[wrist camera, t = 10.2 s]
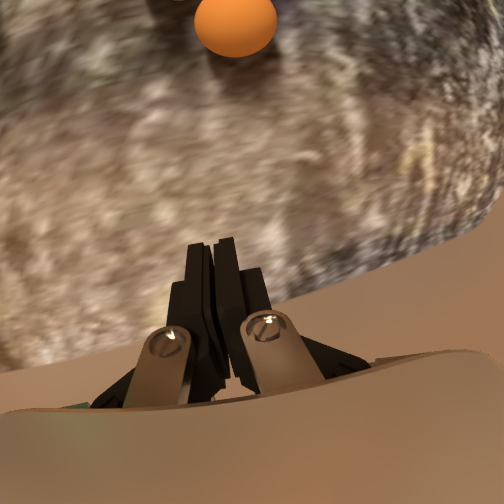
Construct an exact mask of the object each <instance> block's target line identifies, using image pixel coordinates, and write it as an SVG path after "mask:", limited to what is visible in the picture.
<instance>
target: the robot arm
mask: <svg viewBox="0 0 504 504" xmlns="http://www.w3.org/2000/svg"><path fill="white" fill-rule="evenodd" d="M228 354H229V356H228ZM229 357H230V361H231V365H232V368H233V372H234V375H235V377H239V378H240V381H241V385H243V386H245V387H246V388H248V389H250V390H252V391H254V393H255V395H250V396H244V397H237V398H231V399H224V400H217V401H215V397H214V395H215V394H216V393H217V392H218V391H219V390H220V389H225V388H226V385H225V379H229V378H230V377H231V376H230V366H229ZM0 504H504V366H503V365H502V364H500V363H499V362H498V361H497V360H496V359H495V358H493V357H491V356H490V355H489V354H486V353H484V352H481V351H476V350H467V349H459V350H458V349H457V350H456V349H455V350H442V351H434V352H427V353H419V354H412V355H405V356H396V357H387V358H377V359H375V362H372V363H367V362H366V361H365V360H363V359H361V358H359V357H357V356H354V355H351V354H348V353H345V352H343V351H340V350H338V349H335V348H332V347H330V346H327V345H324V344H321V343H319V342H316V341H314V340H311V339H309V338H306V337H304V336H301V335H299V334H298V332H297V330H296V329H295V327H294V325H293V324H292V322H291V320H290V319H289V318H288V316H287V315H285V314H283V313H281V312H278V311H275V310H272V308H271V304H270V301H269V297H268V293H267V290H266V286H265V283H264V279H263V275H262V272H261V268H260V267H258V268H252V269H247V270H241V271H239V266H238V260H237V255H236V249H235V244H234V239H233V237H229V238H224V239H219V243H218V244H214V263H213V258H212V254H211V250H210V246H209V245H207V246H204V244H203V242H202V243H196V244H191V245H188V250H187V259H186V269H185V279H184V281H178V282H173V283H172V287H171V293H170V300H169V308H168V315H167V323H166V327H163V328H160V329H158V330H156V331H154V332H153V333H152V334H151V335H150V336H149V337H148V338H147V339H146V341H145V343H144V345H143V348H142V351H141V354H140V357H139V359H138V362H137V365H136V367H135V368H134V369H132V370H131V371H130V372H128V373H127V374H126V375H125V376H124V377H122V378H121V379H120V380H119V381H117V382H116V383H115V384H114V385H112V386H111V387H110V388H108V389H107V390H106V391H105V392H103V393H102V394H101V395H100V396H98V397H97V398H96V399H95V400H94V402H93V403H92V405H90V404H89V403H88V402H85V403H81V404H76V405H72V406H67V407H62V408H32V409H21V410H14V411H9V412H6V413H4V414H0Z"/></svg>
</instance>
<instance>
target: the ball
mask: <svg viewBox="0 0 504 504" xmlns="http://www.w3.org/2000/svg"><path fill="white" fill-rule="evenodd" d="M194 25H195V30H196V33H197V36H198V38H199V39H200V41H201V42H202V43H203V45H204V46H206V47H207V48H208V49H209V50H211V51H212V52H214V53H216V54H219V55H222V56H226V57H244V56H248V55H251V54H253V53H256V52H258V51H259V50H261V49H262V48H263V47H265V46H266V45H267V44H268V43H269V42H270V40H271V39H272V37H273V35H274V33H275V30H276V26H277V15H276V11H275V9H274V7H273V5H272V3H271V2H270V0H203V1H202V2H201V3H200V5H199V7H198V9H197V11H196V14H195V21H194Z"/></svg>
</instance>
